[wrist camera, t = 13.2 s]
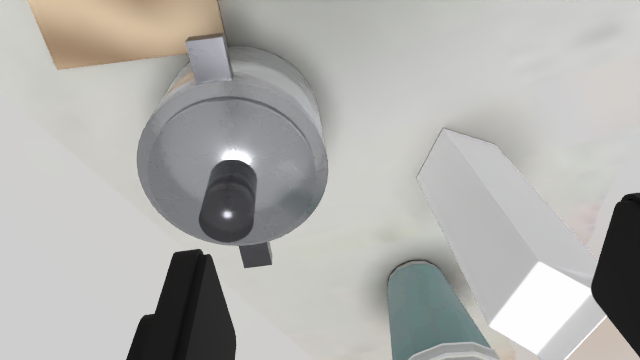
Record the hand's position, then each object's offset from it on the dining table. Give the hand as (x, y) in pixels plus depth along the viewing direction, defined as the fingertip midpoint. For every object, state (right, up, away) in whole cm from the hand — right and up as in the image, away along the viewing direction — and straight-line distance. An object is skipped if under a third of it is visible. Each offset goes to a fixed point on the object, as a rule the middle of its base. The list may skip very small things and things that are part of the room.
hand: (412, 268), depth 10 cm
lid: (-8, +3, +23) cm, 24 cm away
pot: (-9, +7, +30) cm, 33 cm away
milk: (+11, +4, +34) cm, 36 cm away
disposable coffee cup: (+9, -10, +43) cm, 45 cm away
